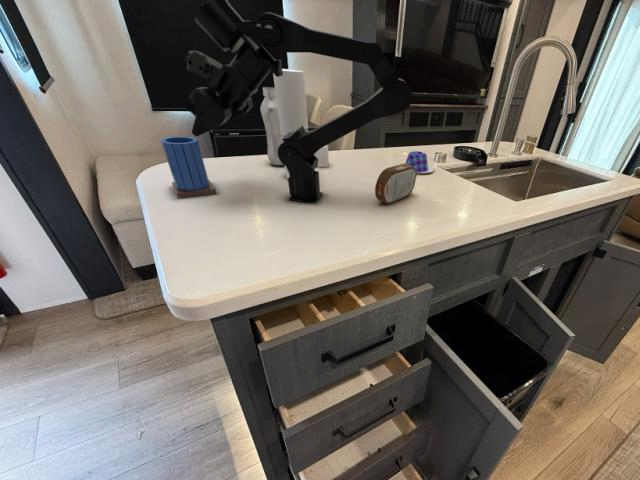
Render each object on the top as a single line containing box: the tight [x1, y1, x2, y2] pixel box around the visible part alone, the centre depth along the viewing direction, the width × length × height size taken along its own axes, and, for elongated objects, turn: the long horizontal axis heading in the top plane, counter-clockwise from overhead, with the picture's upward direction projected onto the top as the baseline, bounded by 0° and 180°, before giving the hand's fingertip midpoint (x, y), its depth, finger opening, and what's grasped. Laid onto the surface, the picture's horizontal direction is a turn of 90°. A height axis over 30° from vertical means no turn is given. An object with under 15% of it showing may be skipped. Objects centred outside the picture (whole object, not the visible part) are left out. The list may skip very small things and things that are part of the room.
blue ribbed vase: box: [160, 136, 209, 191], centre depth 74 cm, size 7×7×10 cm
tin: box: [374, 162, 418, 205], centre depth 82 cm, size 15×3×8 cm, turn 145°
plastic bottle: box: [259, 86, 284, 166], centre depth 94 cm, size 6×7×20 cm
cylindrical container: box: [272, 68, 309, 179], centre depth 85 cm, size 7×7×25 cm
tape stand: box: [171, 178, 217, 199], centre depth 76 cm, size 8×8×6 cm
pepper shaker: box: [314, 144, 330, 168], centre depth 100 cm, size 4×4×10 cm
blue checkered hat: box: [398, 150, 435, 174], centre depth 107 cm, size 12×12×5 cm
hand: (203, 130), depth 70 cm, fingers open, 9 cm apart
